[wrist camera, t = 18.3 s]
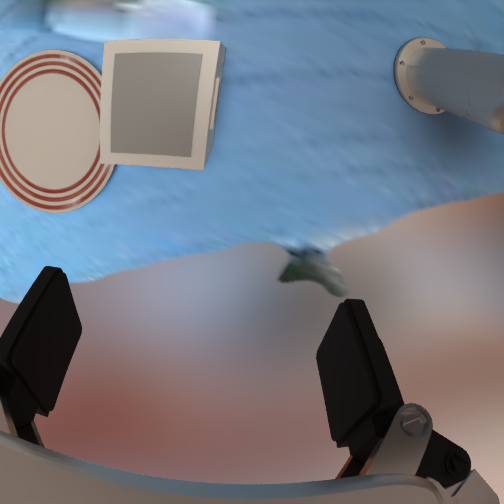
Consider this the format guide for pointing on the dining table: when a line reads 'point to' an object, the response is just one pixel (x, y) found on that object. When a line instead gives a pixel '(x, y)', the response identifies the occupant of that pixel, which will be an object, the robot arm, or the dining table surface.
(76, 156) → the dinner plate
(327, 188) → the dining table surface
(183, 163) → the grey unit
